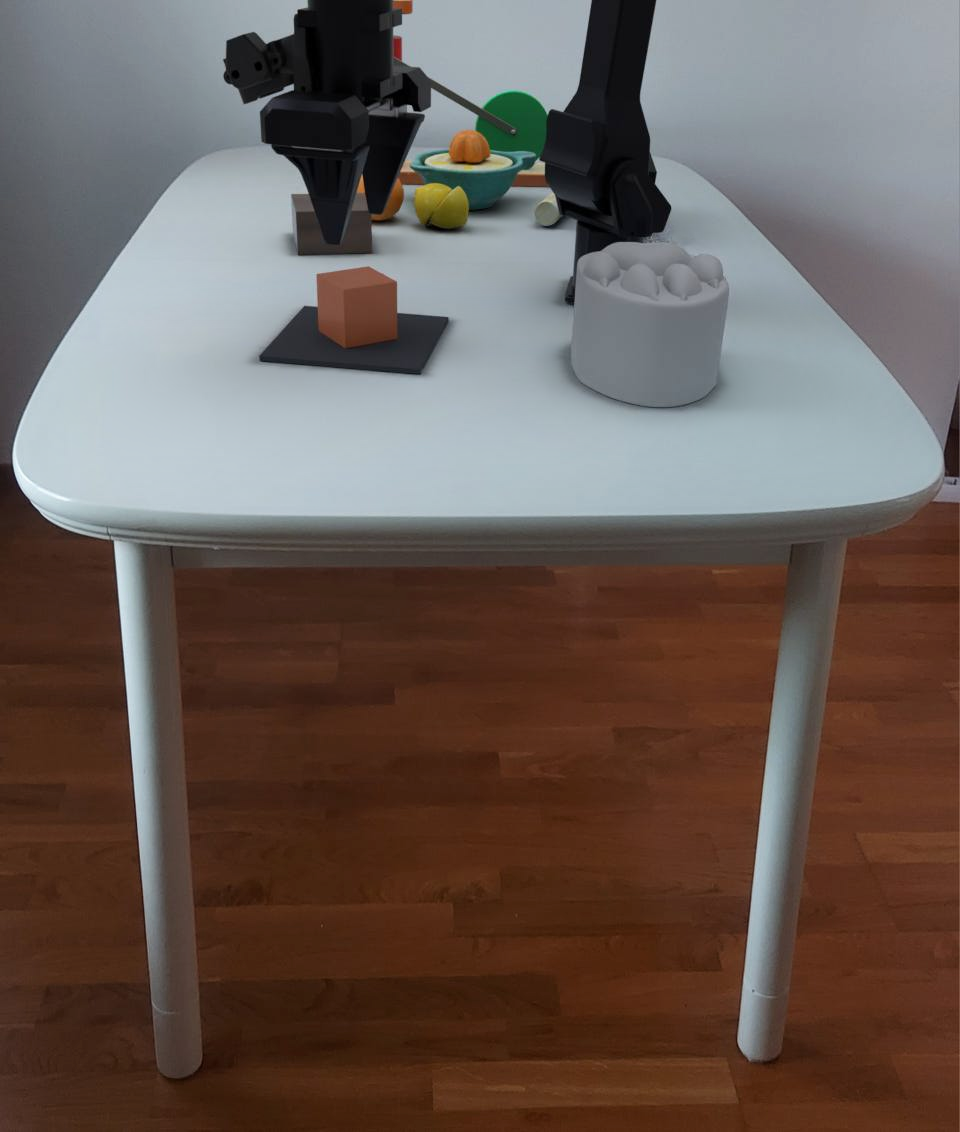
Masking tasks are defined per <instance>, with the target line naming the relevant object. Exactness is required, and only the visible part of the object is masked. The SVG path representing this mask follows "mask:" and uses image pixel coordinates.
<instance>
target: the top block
mask: <svg viewBox="0 0 960 1132" xmlns="http://www.w3.org/2000/svg"><path fill="white" fill-rule="evenodd" d="M315 275H316V277H315V278H316V297H317V298H316V299H317V307H318V326H319V332H321V333H323V334H324V335H326V336H327V337H329V338H330V339H332V340H333V341H335V342H336V343H338V344H339V345H341V346H342V347H344V348H351V347H357V346H362V345H367V344H373V343H378V342H384V341H389V340H395V339H397V313H398V281H397V280H396V279H393V278H391V277H389V276H387V275H386V274H384V273H381V272H380V271H379V270H376V269H374V268H372V267H371V266H362V267H355V268H349V269H342V270H340V269H339V270H334V271H327V272H320V273H316V274H315Z"/></svg>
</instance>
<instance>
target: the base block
mask: <svg viewBox="0 0 960 1132" xmlns="http://www.w3.org/2000/svg"><path fill="white" fill-rule="evenodd" d="M290 200H291V221H292V236H293V240H294V244H295V249H296V253H297V255H299V256H304V255H305V256H307V255H308V256H309V255H339V254H340V255H341V254H342V255H344V254H346V255H347V254H372V253H373V228H372V227H373V225H372V224H373V223H372V222H373V220H372V218H371V214H370V213H369V211H368V207H367V202H366V199H365V197H364V195H363V193H356V196H355V200H354V203H353V207H352V210H351V214H350V217H349V221H348V224H347V227H346V230H345V233H344V236H343V239H342V242H341V243H340V244H339V245H331V244H327V243H325V241H324V238H323V235H322V232H321V229H320V226H319V223H318V220H317V217H316V214H315V211H314V208H313V205H312V202H311V199H310V196H309V193H291V194H290Z"/></svg>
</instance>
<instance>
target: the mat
mask: <svg viewBox="0 0 960 1132" xmlns="http://www.w3.org/2000/svg"><path fill="white" fill-rule="evenodd" d="M449 318H450V316H443V315H442V316H441V315H429V314H418V313H417V314H415V313H404V312H403V313H402V312H397V339H395V340H389V341H384V342H378V343H373V344H367V345H362V346H357V347H351V348H344V347H342V346H341V345H339V344H338V343H336V342H335V341H333V340H332V339H330V338H329V337H327V336H326V335H324V334H323V333H321V332H319V326H318V306H313V305H304V306H302V308H300V310H299V311H298V312H297V313H296V315H294V316H293V318H292V319H291V320H290V321H289V322H288V323H287V325H285V326H284V328H283V329H281V331H280V332H279V333H278V334H277V335H276V336H275V338H274V339H273V340H272V341H271V342H270V343H269V344H268V345H267V346H266V348H265V349H264V350H263V351H262V352H261V353H260V354H259V355H258V360H259V361H260V362H269V363H270V362H271V363H283V364H294V365H307V366H317V367H331V368H343V369H354V370H364V371H365V370H366V371H377V372H378V371H379V372H389V373H400V374H401V373H402V374H414V375H421V373H422V372H423V369H424V368H425V366H426V364H427V362H428V360H429V359H430V357H431V356H432V353H433V352H434V349H435V347H436V345H437V344H438V342H439V340H440V338H441V336H442V334H443V332H444V331H445V329H446V327H447V325H448V324H449V321H450V319H449Z"/></svg>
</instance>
